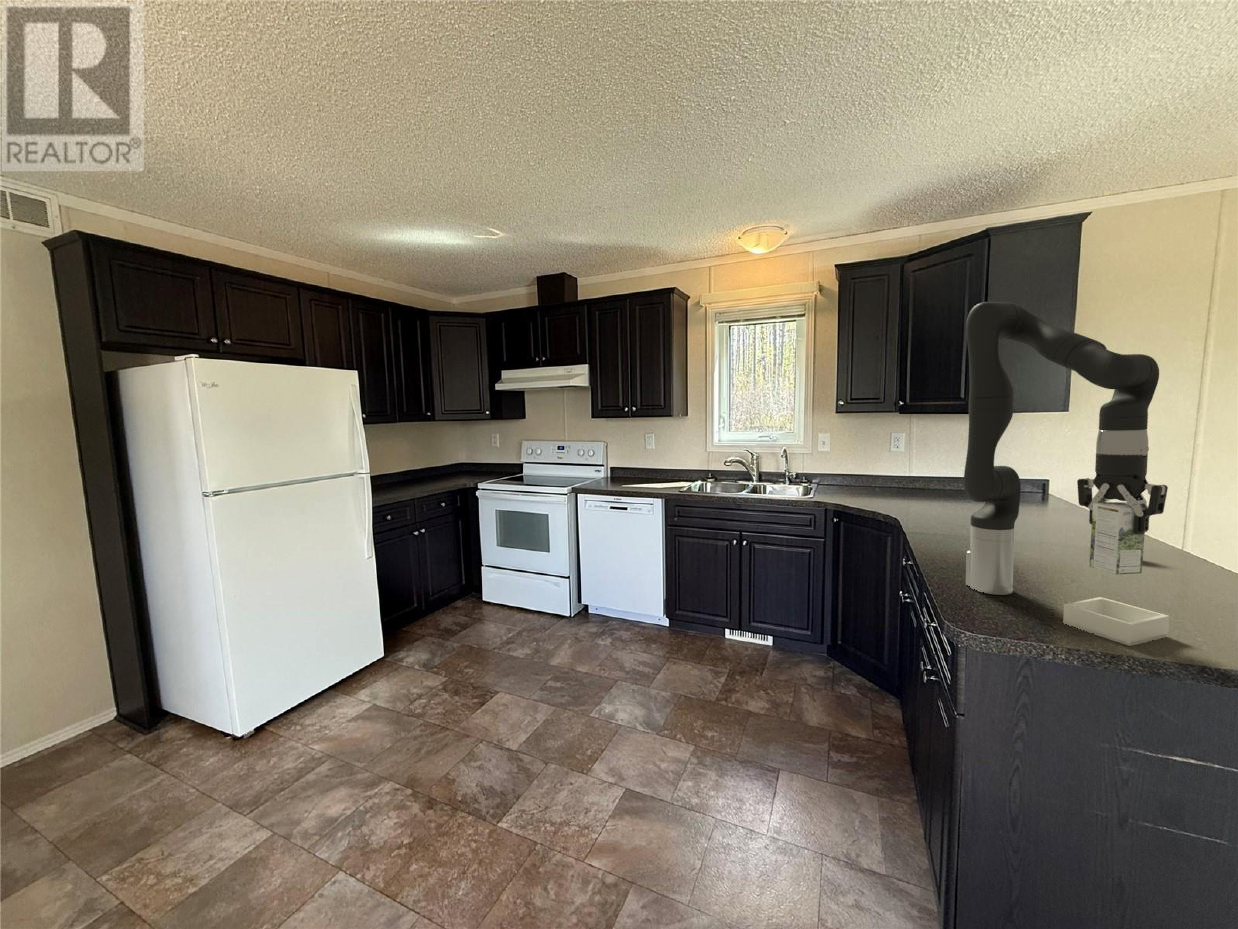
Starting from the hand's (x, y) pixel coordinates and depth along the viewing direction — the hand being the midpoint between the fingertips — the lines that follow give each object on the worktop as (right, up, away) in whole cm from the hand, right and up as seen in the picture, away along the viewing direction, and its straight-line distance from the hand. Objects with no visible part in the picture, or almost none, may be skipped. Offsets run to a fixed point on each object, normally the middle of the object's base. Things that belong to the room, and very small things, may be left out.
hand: (1117, 530), depth 102 cm
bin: (+1, -22, +2) cm, 22 cm away
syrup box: (0, -9, +1) cm, 9 cm away
